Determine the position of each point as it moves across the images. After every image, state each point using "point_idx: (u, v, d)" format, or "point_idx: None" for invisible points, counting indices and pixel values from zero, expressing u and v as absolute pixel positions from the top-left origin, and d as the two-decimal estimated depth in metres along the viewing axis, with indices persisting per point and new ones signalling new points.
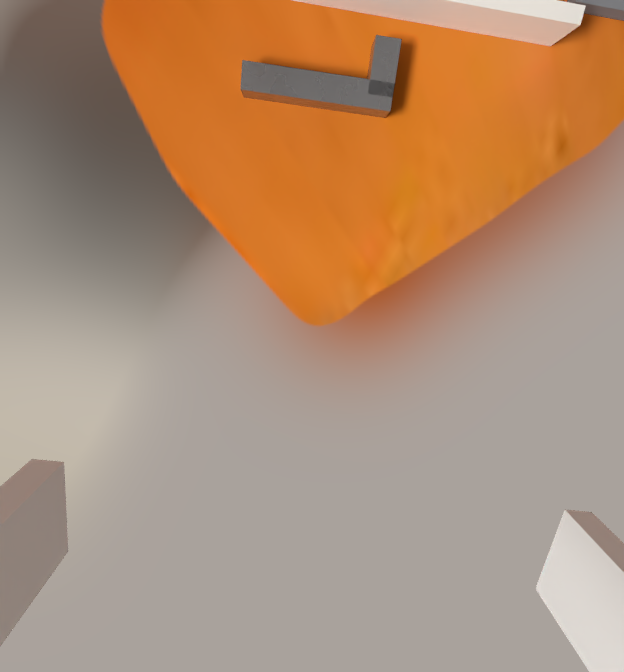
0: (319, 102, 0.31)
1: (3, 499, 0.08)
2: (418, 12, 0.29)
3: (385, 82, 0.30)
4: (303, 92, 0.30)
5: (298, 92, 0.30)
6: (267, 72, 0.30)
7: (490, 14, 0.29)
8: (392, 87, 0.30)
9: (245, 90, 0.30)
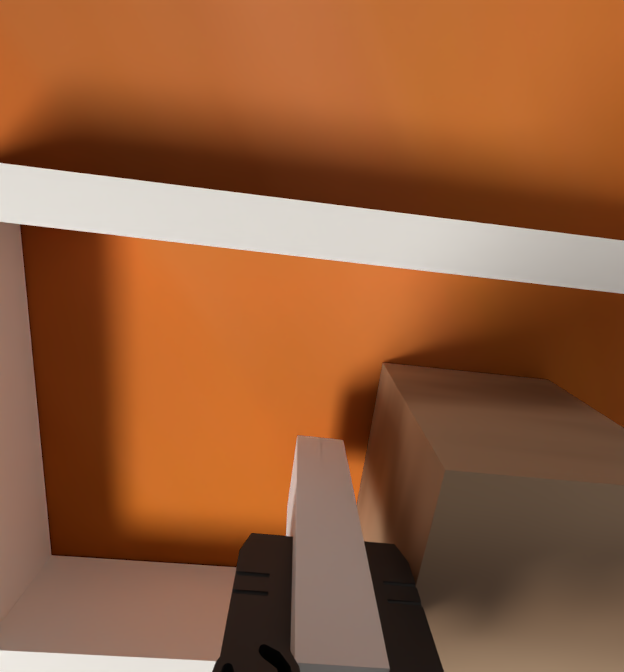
0: None
1: (308, 462, 0.11)
2: None
3: None
4: None
5: None
6: None
7: None
8: None
9: None
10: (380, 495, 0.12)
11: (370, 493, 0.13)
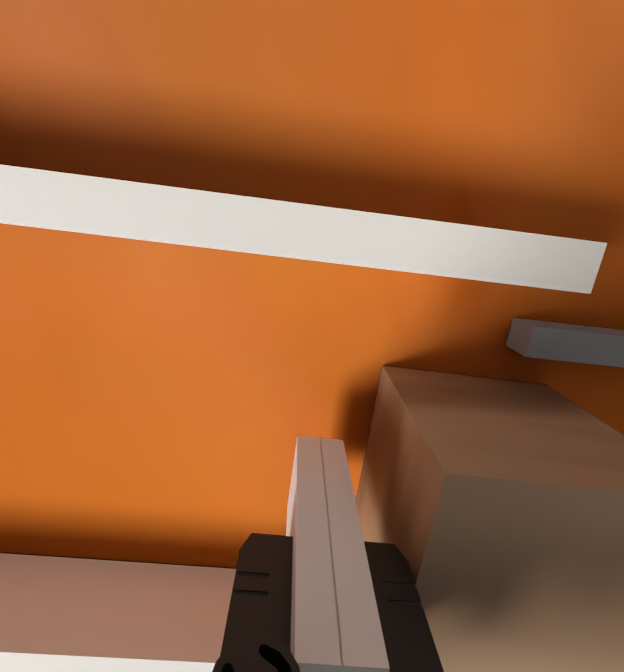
0: None
1: (308, 462, 0.11)
2: None
3: None
4: None
5: None
6: None
7: None
8: None
9: None
10: (378, 498, 0.12)
11: (368, 496, 0.13)
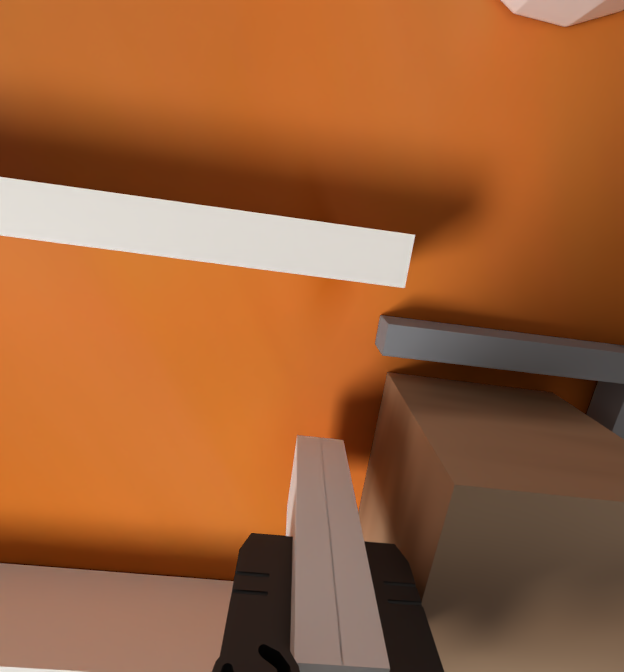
0: None
1: (308, 462, 0.11)
2: None
3: None
4: None
5: None
6: None
7: None
8: None
9: None
10: (383, 506, 0.12)
11: (372, 504, 0.13)
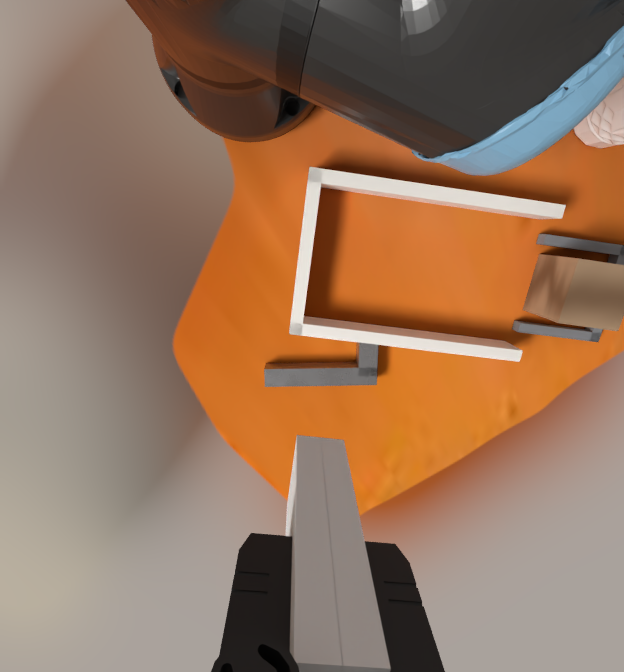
0: (323, 384, 0.42)
1: (308, 462, 0.11)
2: None
3: (370, 367, 0.41)
4: (310, 382, 0.41)
5: (307, 382, 0.41)
6: (283, 373, 0.41)
7: None
8: (376, 370, 0.41)
9: (268, 386, 0.41)
10: (543, 290, 0.39)
11: (535, 296, 0.40)
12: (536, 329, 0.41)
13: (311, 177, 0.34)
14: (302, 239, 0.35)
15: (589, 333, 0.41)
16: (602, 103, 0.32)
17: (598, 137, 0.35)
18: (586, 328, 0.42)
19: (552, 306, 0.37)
